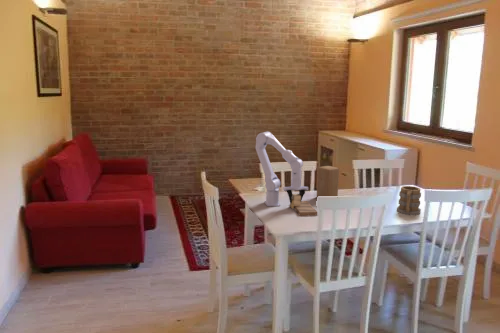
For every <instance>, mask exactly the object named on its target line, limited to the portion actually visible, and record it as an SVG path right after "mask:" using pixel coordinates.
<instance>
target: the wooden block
mask: <svg viewBox="0 0 500 333" xmlns="http://www.w3.org/2000/svg"><path fill="white" fill-rule="evenodd" d="M339 177H340V168H339V167H336V166H331V165H324V166H319V167H317V179H316V181H317V182H316V198H318V196H338V195H339V180H340V178H339ZM338 197H339V196H338Z"/></svg>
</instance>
